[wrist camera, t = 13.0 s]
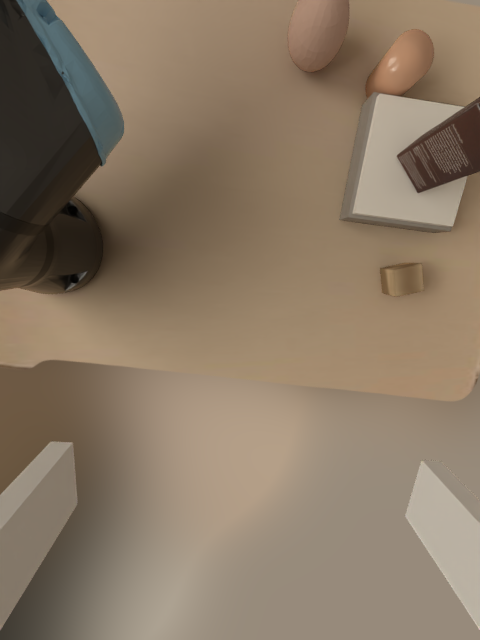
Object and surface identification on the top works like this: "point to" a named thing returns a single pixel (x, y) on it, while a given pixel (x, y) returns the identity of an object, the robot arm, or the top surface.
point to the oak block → (402, 279)
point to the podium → (397, 167)
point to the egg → (317, 32)
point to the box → (445, 150)
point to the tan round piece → (402, 64)
